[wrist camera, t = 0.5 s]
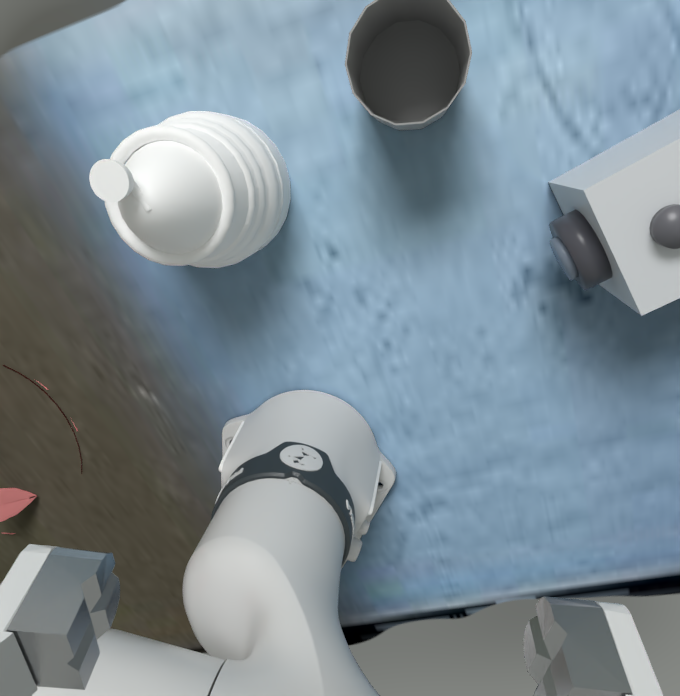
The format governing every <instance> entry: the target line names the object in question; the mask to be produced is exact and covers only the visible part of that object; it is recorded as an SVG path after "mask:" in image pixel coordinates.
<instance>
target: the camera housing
mask: <svg viewBox="0 0 680 696" xmlns="http://www.w3.org/2000/svg"><path fill="white" fill-rule="evenodd" d="M548 183H549V185H550V187H551V189H552V191H553V193H554V195H555V198H556V200H557V202H558V204H559V206H560V208H561V210H562V212H563V214H564V216H562V217H560V218H558V219H556V220H554V221H552V222H550V224H549V226H550V230H551V233H552V236H553V239H551V240H549V242H550V245H551V248H552V251H553V253H554V255H555V257H556V259H557V261H558V263H559V265H560V266H561V268H562V270H563V271H564V273H565V274H566V276H567V277H568V278H569V279H570V280H573V279H576V281H577V282H578V284H579V285H580V286H581V287H582V288H583V289H584V290H588V289H590V288H592V287H594V286H596V285H598V284H599V285H600V286H602V287H603V288H604V289H606V290H607V291H608V292H610V293H611V294H612V295H614V296H615V297H617V298H618V299H619V300H621V301H622V302H623V303H625V304H626V305H627V306H629V307H630V308H632V309H633V310H634V311H636V312H637V313H638V314H640V315H641V316H642V315H645V314H647V313H649V312H651V311H653V310H655V309H657V308H660V307H662V306H664V305H666V304H668V303H670V302H672V301H675V300H677V299H679V298H680V109H679V110H677V111H676V112H674V113H672V114H670V115H668V116H667V117H665V118H663V119H661V120H659V121H658V122H656V123H654V124H652V125H650V126H649V127H647V128H645V129H643V130H641V131H640V132H638V133H636V134H634V135H632V136H631V137H629V138H627V139H625V140H623V141H622V142H620V143H618V144H616V145H614V146H613V147H611V148H609V149H607V150H605V151H603V152H602V153H600V154H598V155H596V156H594V157H593V158H591V159H589V160H587V161H585V162H584V163H582V164H580V165H578V166H576V167H575V168H573V169H571V170H569V171H567V172H566V173H564V174H562V175H560V176H558V177H557V178H555V179H553V180H551V181H549V182H548Z"/></svg>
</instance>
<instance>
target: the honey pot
mask: <svg viewBox="0 0 680 696" xmlns="http://www.w3.org/2000/svg"><path fill="white" fill-rule="evenodd" d="M127 160H128V161H127ZM126 161H127V163H126V164H125V162H126ZM89 177H90V184H91V187H92V189H93V191H94V193H95V194H96V195H97V196H98V197H99V198H101V199H102V200H104V201H105V206H106V209H107V212H108V215H109V217H110V220H111V223H112V225H113V226H114V228H115V229H116V231H117V232H118V234H119V236H120V237H121V239H122V240H123V241H124V242H125V243H126V244H127V245H128V246H130V247H131V248H132V249H133V250H134V251H135V252H136V253H138V254H140V255H141V256H143V257H145V258H146V259H148V260H150V261H153V262H157V263H160V264H163V265H172V266H184V265H191V266H195V267H200V268H221V267H225V266H229V265H234V264H237V263H238V262H240V261H242V260H244V259H246V258H247V257H249V256H251V255H252V254H254V253H256V252H257V251H259V250H261V249H262V248H264V247H265V246H267V244H268V243H269V242H270V241H271V240H272V239H273V238H274V237H275V236H276V235H277V234H278V233H279V231H280V229H281V227H282V225H283V224H284V222H285V220H286V217H287V213H288V209H289V205H290V201H291V193H290V178H289V175H288V171H287V167H286V163H285V161H284V159H283V157H282V156H281V154H280V152H279V150H278V148H277V146H276V145H275V144H274V143H273V142H272V141H271V140H270V138H269V137H268V136H267V135H266V134H265V133H264V132H263V131H262V130H260V129H259V128H257V127H256V126H254V125H252V124H251V123H249V122H248V121H246V120H243V119H240V118H236V117H233V116H230V115H226V114H220V113H215V112H210V111H188V112H185V113H182V114H178V115H175V116H172V117H169V118H167V119H166V120H164V121H163V122H161V123H160V124H158V125H157V126H151V127H148V128H145V129H141V130H138V131H136V132H135V133H133V134H132V135H130V136H129V137H127V138H126V139H124V140H123V141H122V142H121V143H120V145H119V146H118V147H117V148H116V150H115V151H114V152H113V153H112V155H111V158H110V159H103V160H100V161H98V162H96V163H95V164H94V165H93V167H92V168H91V171H90V176H89Z"/></svg>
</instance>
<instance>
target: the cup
mask: <svg viewBox="0 0 680 696" xmlns="http://www.w3.org/2000/svg"><path fill="white" fill-rule="evenodd" d="M471 55H472V50H471V45H470V40H469V35H468V30H467V26H466V21H465V20H464V19H463V17H462V16H461V15H460V14H459V12H458V11H457V10H456V8H455V7H454V6H453V5H452V3H451V2H450V1H449V0H375V1H373V2H372V3H370V4H369V5H367V6H366V7H365V8H364V10H363V12H362V13H361V15H360V17H359V18H358V20H357V22H356V23H355V25H354V27H353V28H352V30H351V31H350V33H349V39H348V46H347V53H346V60H345V67H346V70H347V74H348V78H349V82H350V85H351V89H352V93H353V94H354V95H355V97H356V98H357V99H358V100H359V101H360V103H361V104H362V105H363V106H364V107H365V109H366V110H367V111H368V112H369V113H370V115H372V116H373V117H374V118H375V119H377V120H378V121H379V122H381V123H383V124H385V125H388V126H390V127H392V128H395V129H397V130H400V131H402V130H414V129H423V128H424V127H426V126H428V125H429V124H431V123H433V122H434V121H436V120H438V119H439V118H441V117H442V116H443V115H444V113H445V112H446V110H447V109H448V108H449V106H450V105H451V103H452V102H453V100H454V99H455V98H456V96H457V95H458V93H459V92H460V90H461V89H462V88H463V86H464V85H465V83H466V78H467V74H468V69H469V64H470V59H471Z"/></svg>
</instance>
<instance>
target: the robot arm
mask: <svg viewBox="0 0 680 696" xmlns="http://www.w3.org/2000/svg"><path fill="white" fill-rule="evenodd" d="M232 439H233V440H232ZM222 451H223V459H222V461H221V463H220V466H219V471H220V472H221V485H222V489H221V491H220V493H219V495H218V497H217V500H216V503H215V506H214V509H213V512H212V518H211V522H210V524H209V526H208V528H207V529H206V531H205V533H204V535H203V537H202V538H201V540H200V542H199V544H198V546H197V547H196V549H195V551H194V553H193V555H192V556H191V558H190V560H189V562H188V564H187V567H186V571H185V574H184V579H183V602H184V607H185V611H186V613H187V616H188V619H189V622H190V624H191V627H192V629H193V632H194V634H195V636H196V638H197V639H198V641H199V643H200V644H201V645H202V647H203V648H204V649H205V650H206V651H207V652H208V653H209V654H210V655H206V654H203V653H199V652H195V651H192V650H188V649H185V648H181V647H178V646H174V645H171V644H167V643H163V642H160V641H156V640H153V639H149V638H146V637H142V636H138V635H135V634H131V633H128V632H124V631H121V630H116V629H110V627H111V625H112V622H113V620H114V617H115V614H116V611H117V606H118V602H119V598H120V584H119V579H118V577H117V576H115V575H114V574H113V573H112V570H113V568H114V565H115V561H114V558H113V554H112V553H107V552H98V551H88V550H79V549H70V548H61V547H56V546H45V545H35V544H29V545H28V546H27V547H26V548H25V549H24V550H23V551H22V552H21V553H20V554H19V556H18V557H17V559H16V561H15V562H14V564H13V565H12V567H11V569H10V570H9V572H8V574H7V575H6V577H5V578H4V580H3V582H2V583H1V585H0V696H380V695H379V694H378V693H377V691H376V690H375V689H374V688H373V686H372V685H371V684H370V682H369V681H368V679H367V678H366V676H365V675H364V673H363V672H362V670H361V669H360V667H359V665H358V663H357V662H356V660H355V658H354V656H353V655H352V653H351V651H350V648H349V646H348V644H347V642H346V639H345V637H344V634H343V632H342V628H341V625H340V621H339V616H338V596H339V583H340V574H341V569H342V567H343V566H344V564H345V563H346V561H347V560H349V561H351V562H355V560H356V559H357V557H358V555H359V552H360V550H361V546H362V541H361V540H360V538H361V536H362V535H365V534H366V533H367V531H368V528H369V525H370V522H371V520H372V518H373V517H374V515H375V513H376V512H377V510H378V508H379V507H380V505H381V503H382V502H383V500H384V499H385V497H386V495H387V494H388V492H389V490H390V489H391V487H392V485H393V484H394V482H395V478H396V470H395V468H394V467H393V465H392V464H391V463H390V462H389V460H388V459H387V458H386V457H385V456H384V455H383V454H382V453H381V452H380V450H379V448H378V446H377V443H376V440H375V438H374V435H373V433H372V431H371V429H370V427H369V425H368V424H367V422H366V421H365V419H364V418H363V417H362V416H361V415H360V414H359V413H358V412H357V411H356V410H355V409H354V408H353V407H352V406H350V405H349V404H348V403H346V402H345V401H343V400H341V399H339V398H337V397H335V396H332V395H330V394H327V393H323V392H319V391H313V390H295V391H289V392H285V393H282V394H279V395H277V396H274V397H272V398H270V399H269V400H267V401H266V402H264V403H263V404H262V405H261V406H259V407H258V408H257V409H256V410H255V411H253V412H252V413H250V414H248V415H244V416H240V417H236V418H233V419H231V420H229V421H228V422H227V423H226V424H225V426H224V428H223V431H222ZM378 482H381V483H382V484H383V485H378ZM536 611H537V616H536V617H534V618H532V619H530V620H529V621H528V624H527V626H526V628H525V631H524V642H523V647H524V658H525V663H526V667H527V672H528V673H529V674H530V675H531V676H532V678H533V679H534V680H535V681H536V683H537V684H538V686H537V688H536V691H535V693H534V695H533V696H663V693H662V691H661V688H660V685H659V683H658V681H657V678H656V675H655V673H654V671H653V668H652V665H651V663H650V661H649V658H648V655H647V653H646V651H645V648H644V646H643V643H642V641H641V638H640V636H639V633H638V631H637V628H636V626H635V623H634V621H633V618H632V616H631V613H630V611H629V610H628V609H627V608H626V606H624V605H622V604H615V603H604V602H595V601H590V600H578V599H566V598H554V597H543V598H540V599H539V601H538V603H537V605H536Z"/></svg>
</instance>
